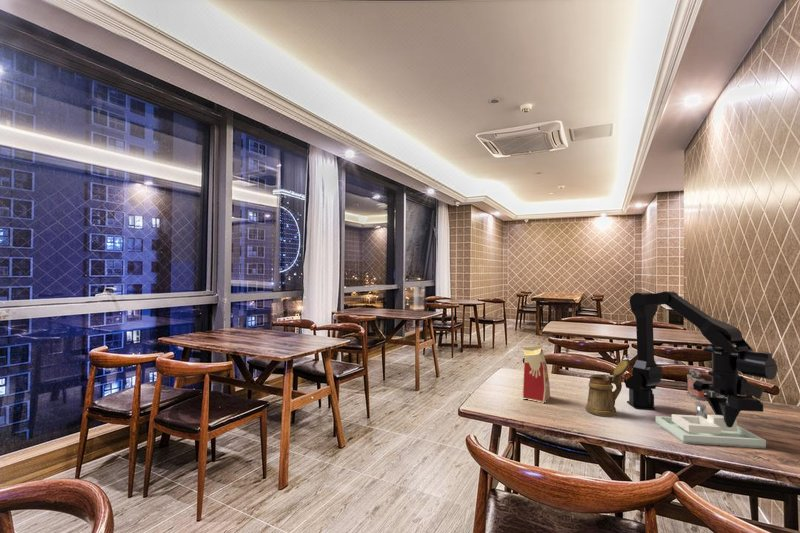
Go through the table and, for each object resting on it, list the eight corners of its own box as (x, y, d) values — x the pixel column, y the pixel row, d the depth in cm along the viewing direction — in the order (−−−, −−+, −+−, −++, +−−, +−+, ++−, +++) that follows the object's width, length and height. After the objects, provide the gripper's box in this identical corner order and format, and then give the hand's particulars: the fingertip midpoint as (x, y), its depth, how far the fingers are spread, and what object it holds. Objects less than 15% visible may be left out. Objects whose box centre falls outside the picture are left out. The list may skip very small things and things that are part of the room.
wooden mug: (636, 419, 116) (636, 362, 117) (591, 416, 118) (590, 360, 119) (623, 408, 125) (623, 356, 125) (581, 406, 127) (581, 354, 127)
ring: (688, 432, 102) (688, 419, 102) (671, 421, 110) (671, 409, 110) (745, 435, 100) (744, 423, 100) (723, 424, 108) (723, 412, 108)
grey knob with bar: (699, 421, 115) (699, 405, 115) (692, 417, 118) (692, 401, 118) (708, 421, 114) (708, 405, 115) (701, 417, 118) (700, 402, 118)
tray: (683, 443, 100) (683, 435, 100) (655, 423, 113) (655, 416, 113) (766, 448, 97) (765, 440, 97) (727, 427, 110) (727, 420, 110)
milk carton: (550, 396, 137) (550, 343, 137) (545, 404, 129) (545, 347, 129) (525, 392, 142) (525, 340, 142) (519, 399, 134) (519, 344, 134)
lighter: (707, 401, 134) (707, 373, 134) (697, 400, 134) (696, 373, 135) (694, 394, 142) (694, 368, 142) (684, 393, 142) (684, 367, 142)
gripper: (786, 380, 94) (787, 441, 94) (731, 363, 113) (732, 414, 112) (738, 378, 96) (739, 438, 96) (692, 361, 114) (692, 412, 114)
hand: (725, 424), depth 104 cm, fingers closed on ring, 2 cm apart
